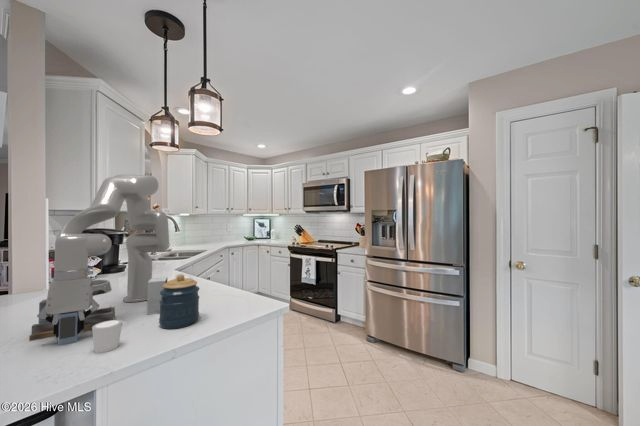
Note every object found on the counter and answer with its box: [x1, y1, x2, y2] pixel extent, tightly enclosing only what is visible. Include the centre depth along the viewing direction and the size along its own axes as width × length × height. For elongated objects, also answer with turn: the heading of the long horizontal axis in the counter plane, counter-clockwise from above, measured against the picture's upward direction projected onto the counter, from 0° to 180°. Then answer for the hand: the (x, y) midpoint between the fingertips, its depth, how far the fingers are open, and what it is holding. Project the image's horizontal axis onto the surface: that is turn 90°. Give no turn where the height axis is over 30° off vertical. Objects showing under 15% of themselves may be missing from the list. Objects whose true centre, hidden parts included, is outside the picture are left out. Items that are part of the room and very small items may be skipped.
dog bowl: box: [91, 279, 113, 295], centre depth 131 cm, size 17×18×5 cm
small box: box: [146, 276, 168, 315], centre depth 106 cm, size 8×6×13 cm
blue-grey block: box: [57, 311, 80, 346], centre depth 79 cm, size 5×4×9 cm
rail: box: [28, 298, 116, 342], centre depth 90 cm, size 20×12×10 cm, turn 126°
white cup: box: [91, 319, 123, 354], centre depth 75 cm, size 7×7×7 cm
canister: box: [158, 273, 200, 330], centre depth 94 cm, size 13×13×18 cm
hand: (69, 333), depth 79 cm, fingers closed on blue-grey block, 4 cm apart
